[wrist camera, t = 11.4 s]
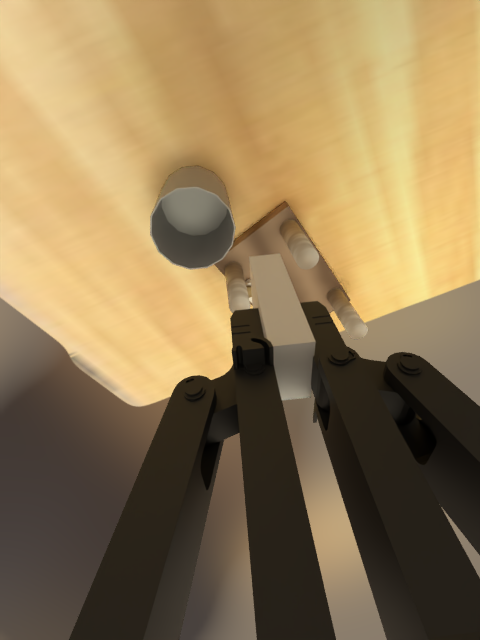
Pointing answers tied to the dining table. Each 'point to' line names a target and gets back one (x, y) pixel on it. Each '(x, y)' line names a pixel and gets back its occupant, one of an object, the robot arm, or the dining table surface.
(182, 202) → the cup
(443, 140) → the dining table surface
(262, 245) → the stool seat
